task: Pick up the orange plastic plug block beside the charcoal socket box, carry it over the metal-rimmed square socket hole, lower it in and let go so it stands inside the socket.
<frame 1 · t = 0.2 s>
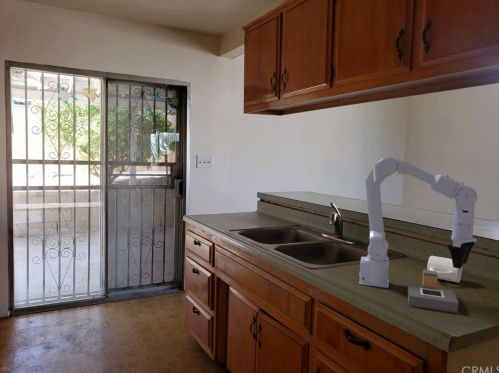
hand: (459, 265, 123), 10 cm above the worktop, fingers open, 7 cm apart
plug: (429, 293, 125), on the worktop
mug: (442, 281, 138), on the worktop
socket block: (431, 302, 116), on the worktop
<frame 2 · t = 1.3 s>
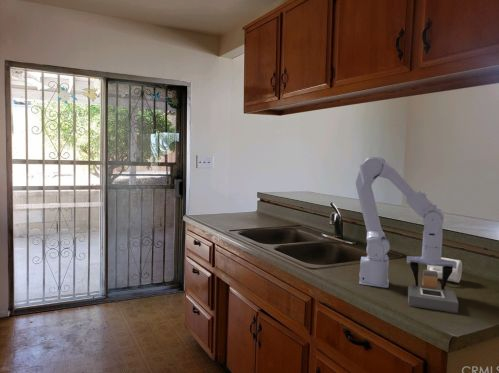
hand: (429, 286, 125), 2 cm above the worktop, fingers open, 7 cm apart
nothing on the worktop moved.
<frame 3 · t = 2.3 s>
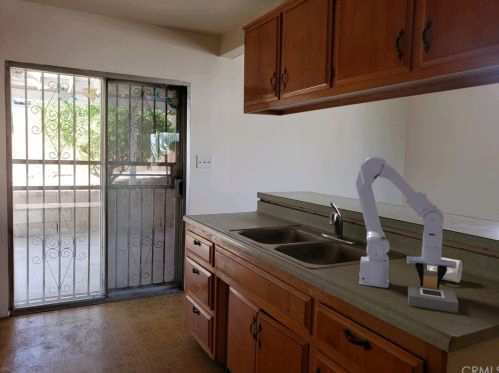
hand: (429, 287, 125), 2 cm above the worktop, fingers closed on plug, 4 cm apart
plug: (429, 292, 125), on the worktop, touching gripper
everything else where it was.
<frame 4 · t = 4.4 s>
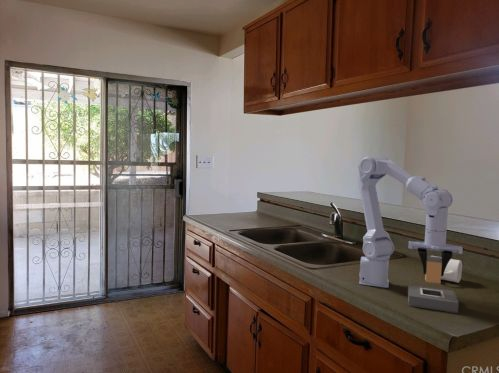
hand: (433, 274, 116), 9 cm above the worktop, fingers closed on plug, 4 cm apart
plug: (432, 280, 116), point 7 cm above the worktop, touching gripper
everything else where it was.
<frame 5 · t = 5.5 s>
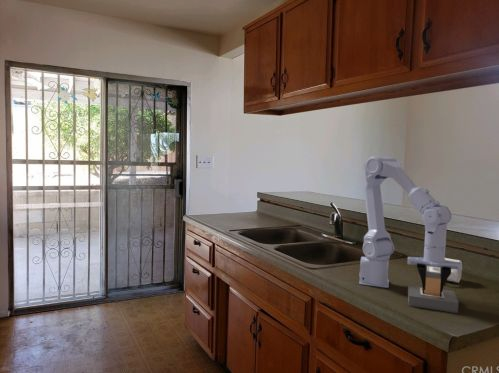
hand: (432, 290, 116), 4 cm above the worktop, fingers closed on plug, 4 cm apart
plug: (431, 296, 116), point 2 cm above the worktop, touching gripper
everything else where it was.
when the fingers open (4 cm above the worktop, at t = 6.3 s): plug drops 2 cm, resting in socket block.
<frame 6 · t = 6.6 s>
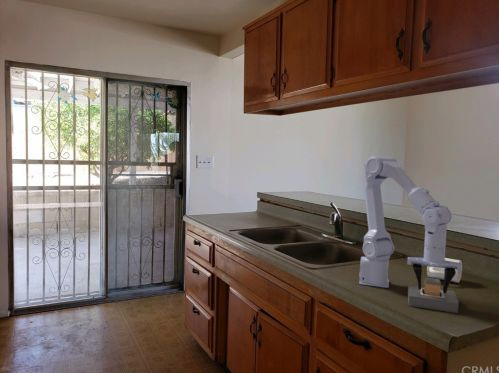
hand: (432, 290, 116), 4 cm above the worktop, fingers open, 6 cm apart
plug: (431, 302, 116), resting in socket block
everything else where it was.
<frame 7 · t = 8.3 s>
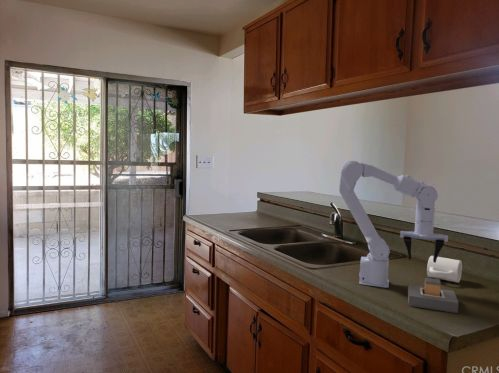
hand: (422, 260, 130), 9 cm above the worktop, fingers open, 7 cm apart
nothing on the worktop moved.
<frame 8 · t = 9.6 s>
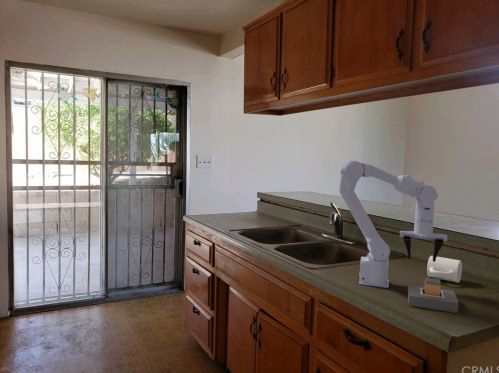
hand: (421, 259, 130), 9 cm above the worktop, fingers open, 7 cm apart
nothing on the worktop moved.
at the end: plug 0.3 cm off-centre on the socket block, point 0.0 cm above the socket block's base; plug tilted 0°; the gripper is holding nothing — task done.
